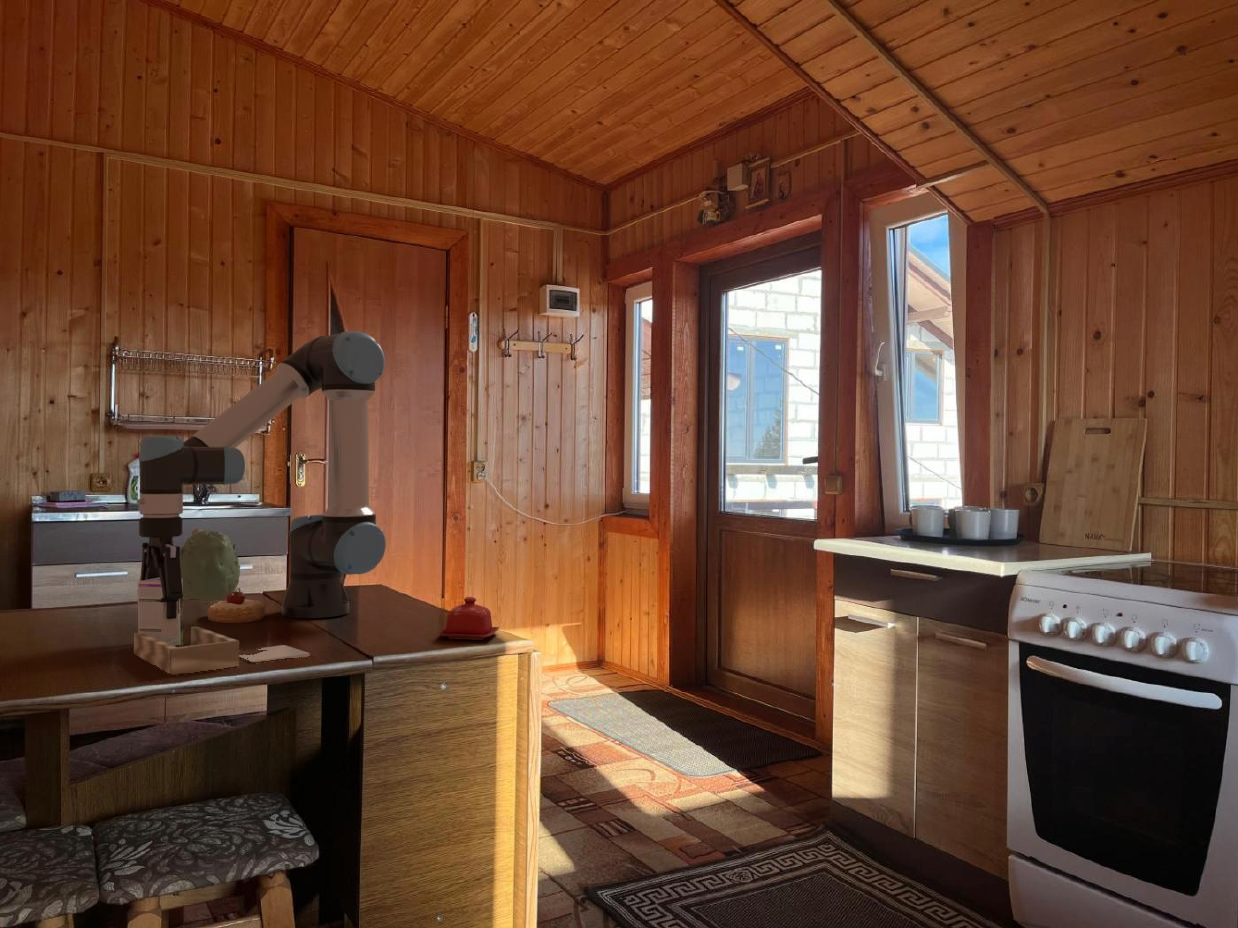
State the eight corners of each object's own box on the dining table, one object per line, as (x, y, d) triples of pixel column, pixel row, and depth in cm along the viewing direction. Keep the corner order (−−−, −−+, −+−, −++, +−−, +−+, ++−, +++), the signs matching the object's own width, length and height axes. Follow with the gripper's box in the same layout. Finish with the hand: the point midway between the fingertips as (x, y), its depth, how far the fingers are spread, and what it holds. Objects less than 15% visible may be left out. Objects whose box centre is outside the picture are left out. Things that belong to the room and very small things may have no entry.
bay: (133, 660, 175) (134, 633, 175) (197, 652, 183) (197, 626, 183) (172, 678, 160) (172, 649, 160) (239, 668, 168) (239, 640, 168)
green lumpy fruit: (184, 615, 226) (184, 532, 226) (165, 605, 241) (165, 527, 241) (251, 609, 236) (251, 529, 236) (228, 600, 251) (229, 525, 251)
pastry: (250, 620, 220) (250, 582, 220) (273, 626, 212) (274, 587, 212) (198, 626, 212) (198, 586, 212) (220, 633, 203) (221, 592, 203)
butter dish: (501, 632, 208) (501, 593, 208) (490, 641, 196) (490, 601, 196) (450, 631, 209) (450, 592, 209) (436, 640, 197) (436, 600, 197)
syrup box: (163, 657, 178) (164, 580, 178) (136, 655, 179) (137, 579, 179) (183, 651, 183) (184, 577, 183) (157, 650, 184) (157, 576, 184)
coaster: (228, 656, 179) (228, 652, 179) (284, 648, 186) (284, 644, 186) (252, 665, 171) (252, 661, 171) (309, 657, 178) (309, 653, 178)
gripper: (121, 514, 186) (121, 627, 186) (160, 519, 170) (159, 642, 170) (161, 512, 192) (161, 622, 192) (202, 517, 176) (201, 637, 176)
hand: (160, 632), depth 181 cm, fingers open, 9 cm apart
